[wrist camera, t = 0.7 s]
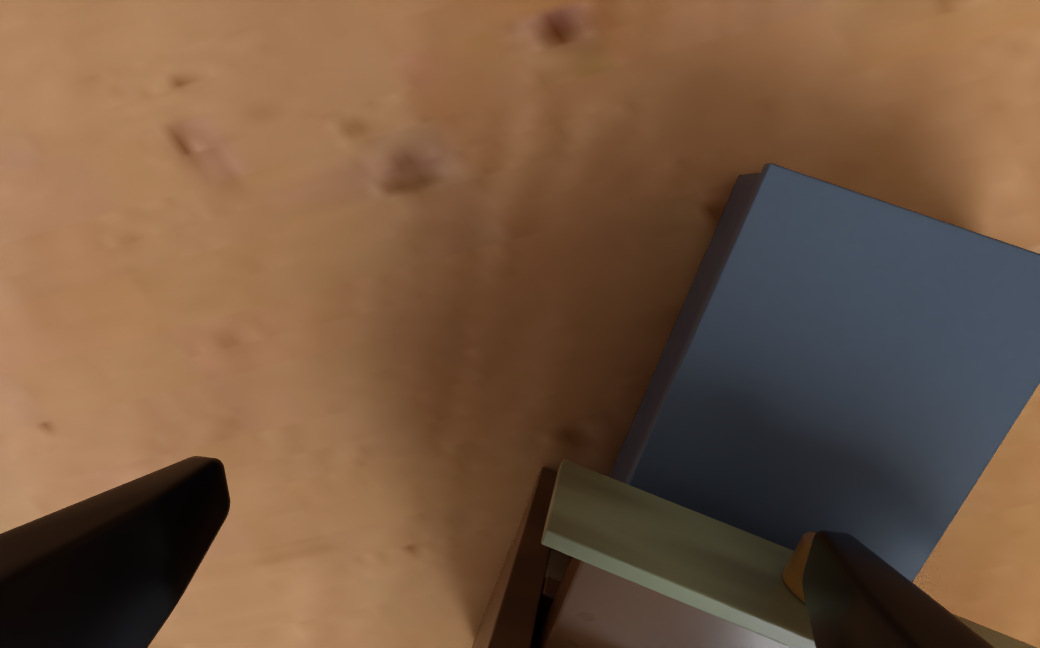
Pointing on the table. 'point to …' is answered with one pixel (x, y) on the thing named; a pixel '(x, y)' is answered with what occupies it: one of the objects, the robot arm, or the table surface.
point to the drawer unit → (523, 579)
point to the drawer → (672, 575)
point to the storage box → (838, 369)
